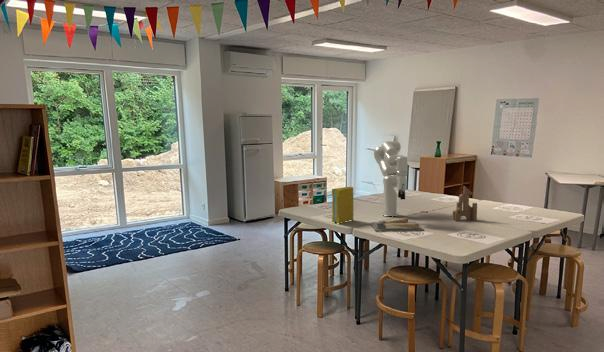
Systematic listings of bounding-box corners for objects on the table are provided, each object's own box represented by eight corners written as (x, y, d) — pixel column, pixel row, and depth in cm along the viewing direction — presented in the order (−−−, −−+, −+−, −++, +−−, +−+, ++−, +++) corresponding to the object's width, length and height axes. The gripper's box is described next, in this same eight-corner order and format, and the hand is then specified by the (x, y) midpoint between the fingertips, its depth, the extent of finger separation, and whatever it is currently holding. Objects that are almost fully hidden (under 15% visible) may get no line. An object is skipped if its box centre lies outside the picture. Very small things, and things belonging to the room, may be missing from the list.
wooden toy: (456, 221, 293) (456, 187, 290) (452, 219, 300) (453, 185, 297) (477, 221, 293) (478, 186, 290) (473, 219, 300) (474, 185, 297)
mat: (370, 223, 291) (370, 222, 291) (414, 223, 291) (414, 221, 291) (375, 231, 269) (375, 230, 269) (423, 230, 269) (423, 229, 269)
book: (338, 224, 292) (337, 189, 289) (332, 222, 297) (331, 188, 294) (355, 220, 302) (355, 187, 299) (349, 219, 307) (349, 186, 304)
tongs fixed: (376, 227, 276) (376, 222, 276) (416, 226, 276) (416, 221, 276) (378, 229, 271) (378, 224, 270) (419, 228, 271) (419, 223, 270)
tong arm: (374, 227, 276) (374, 222, 276) (405, 222, 289) (405, 217, 288) (379, 229, 271) (379, 223, 271) (410, 223, 284) (410, 218, 283)
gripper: (393, 172, 298) (393, 196, 301) (399, 175, 281) (399, 200, 283) (404, 172, 298) (403, 196, 300) (410, 175, 281) (409, 200, 283)
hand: (401, 198), depth 292 cm, fingers open, 6 cm apart
